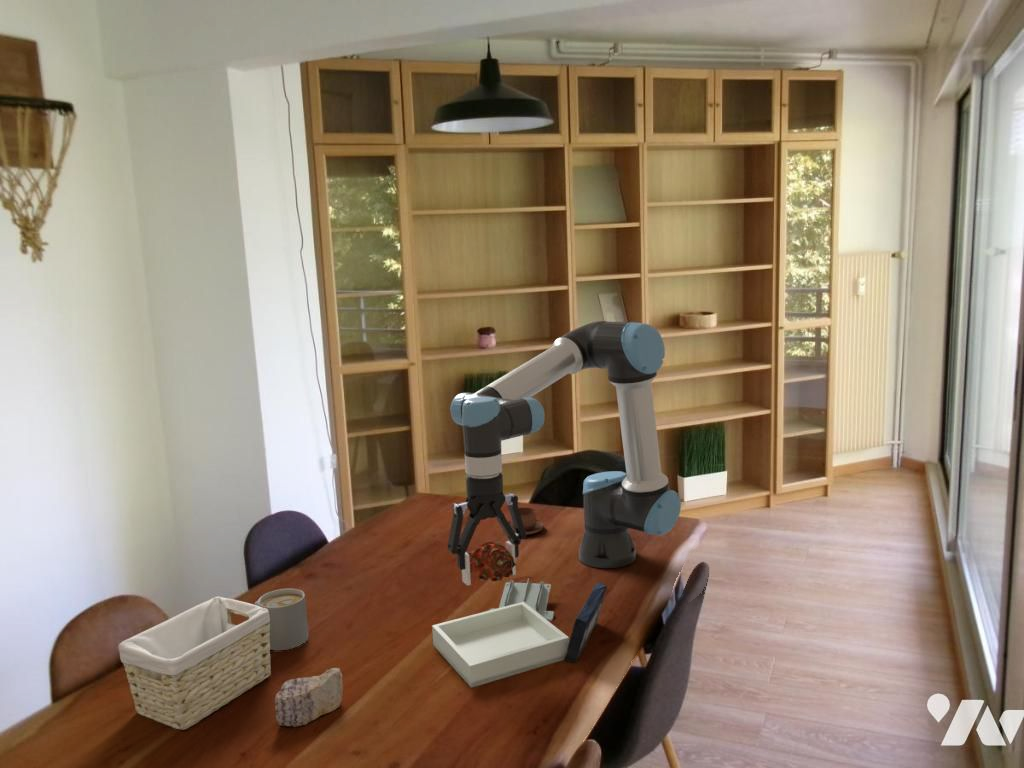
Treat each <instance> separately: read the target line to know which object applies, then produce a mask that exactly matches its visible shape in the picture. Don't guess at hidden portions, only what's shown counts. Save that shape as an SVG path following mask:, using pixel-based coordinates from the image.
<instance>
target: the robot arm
mask: <svg viewBox="0 0 1024 768" xmlns="http://www.w3.org/2000/svg"><path fill="white" fill-rule="evenodd" d="M665 351H666V349H665V344H664V340H663V337H662V336H661V333H660V332H659V331H658V329H657V328H655V327H654V326H653V325H651V324H648V323H644V322H638V321H606V320H598V321H592V322H590V323H589V322H588V323H586V324H584V325H581V326H579V327H577V328H575V329H572V330H571V331H568V332H566V333H564V334H563V335H562V336H560V337H558V338H556V339H555V340H554V341H553V343H552V346H551V347H550V348H548V349H546V350H545V351H543V352H542V353H539V354H538V355H536V356H534V357H533V358H531V359H530V360H528V361H526V362H524V363H523V364H521V365H519V366H518V367H516V368H514V369H513V370H511V371H509V372H508V373H506V374H504V375H503V376H501V377H499V378H497V379H496V380H494V381H492V382H491V383H489V384H488V385H486V386H484V387H483V388H480V389H479V390H477V391H476V392H474V393H473V392H469V391H468V392H461V393H458V394H457V395H456V396H455V397H453V399H452V401H451V404H450V408H449V409H450V411H449V412H450V416H451V418H452V420H453V422H454V423H455V424H457V425H460V426H462V435H463V449H464V468H465V471H464V472H465V473H466V476H465V488H466V490H465V491H466V499H465V502H460V503H453V504H452V507H451V508H452V513H453V514H452V515H453V516H452V521H451V527H450V530H449V535H448V536H449V537H448V540H447V541H448V543H447V546H446V547H447V550H448V552H449V553H451V554H452V555H455V554H456V562H457V563H456V566H457V567H458V569H459V570H460V571H461V581H462V583H464V584H465V585H466V586H471V585H472V583H471V572H470V564H471V562H470V561H469V554H468V553H469V552H467V550H468V548H469V545H470V543H471V541H472V539H473V536H474V534H475V531H476V529H477V526H478V525H479V524H480V522H481V521H483V520H487V519H493V518H495V519H496V521H497V522H498V523H499V525H500V528H502V530H503V531H504V533H505V534H506V537H507V538H508V539H509V540H507V541H505V548H506V549H507V550H508V551H509V552H510V553H511V555H512V556H513V558H514V562H515V563H516V559H517V558H519V555H520V552H519V551H520V550H519V545H520V544H521V543H522V540H525V539H526V538H527V536H528V535H526V532H525V529H524V525H523V522H522V519H521V515H520V512H519V509H518V508H519V506H518V505H519V502H518V501H519V497H518V496H517V495H516V494H514V493H512V492H509V493H507V494H504V479H503V478H504V476H503V474H502V472H503V460H502V459H503V458H502V441H507V440H511V439H514V438H518V437H523V436H526V435H527V436H529V435H530V434H533V433H535V432H538V431H540V430H541V428H543V426H544V423H545V416H546V414H545V410H544V407H543V405H542V403H541V402H540V401H539V400H538V399H536V398H534V396H535V395H537V394H538V393H539V392H541V391H543V390H544V389H546V388H548V387H549V386H551V385H553V384H554V383H556V382H558V381H559V380H560V379H562V378H563V377H565V376H566V375H569V374H570V375H576V374H577V373H579V372H580V371H583V370H585V369H603V370H604V369H605V370H606V371H607V378H608V379H607V380H608V382H609V383H610V384H612V385H613V386H614V387H615V391H616V400H617V408H618V415H619V416H618V417H619V423H620V425H619V426H620V433H621V440H622V441H621V442H622V448H623V454H624V455H623V456H624V463H625V471H626V472H624V471H620V470H619V471H618V470H617V471H616V470H615V471H614V470H613V471H612V470H611V471H603V472H597V473H594V474H591V475H587V477H586V478H585V479H584V480H583V485H582V486H583V489H582V498H583V501H582V502H583V520H584V525H583V526H584V532H583V535H582V537H581V541H580V545H579V548H578V559H579V561H580V562H581V563H582V564H584V565H586V566H589V567H593V568H597V569H617V568H618V569H619V568H622V567H626V566H629V565H631V564H633V563H634V562H635V561H636V559H637V554H636V552H637V551H636V547H635V544H634V542H633V539H632V536H631V533H630V530H629V529H632V530H634V531H639V532H643V533H645V535H655V536H663V535H664V536H665V535H666V534H668V533H669V532H670V531H671V530H672V529H673V528H674V526H675V525H676V523H677V521H678V520H679V517H680V513H681V509H682V508H681V507H682V502H681V501H682V500H681V496H680V495H679V494H678V493H677V491H675V490H672V489H670V483H669V478H668V477H667V475H666V474H664V473H663V472H662V466H661V456H660V450H659V449H660V448H659V440H658V439H659V438H658V431H657V421H656V413H655V403H654V395H653V388H652V387H653V386H652V383H653V381H654V380H655V379H656V378H657V375H658V374H657V373H658V371H659V370H660V369H661V368H662V366H663V364H664V360H663V359H665V354H666V353H665ZM504 504H506V505H507V508H508V511H509V514H510V515H509V516H510V519H511V518H512V521H513V524H514V527H515V531H516V533H515V532H514V531H513V529H512V528H511V526H510V524H509V523H508V522H509V521H508V520H507V518H506V516H505V514H504V512H503V510H502V507H503V505H504ZM466 509H468V510H469V513H468V515H467V520H466V524H465V525H464V527H463V531H462V526H463V521H464V515H465V514H466ZM516 565H517V564H516ZM516 565H515V566H514V567H513V568H512V571H513V574H512V575H511V576H515V575H517V570H516V568H517V567H516Z"/></svg>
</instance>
